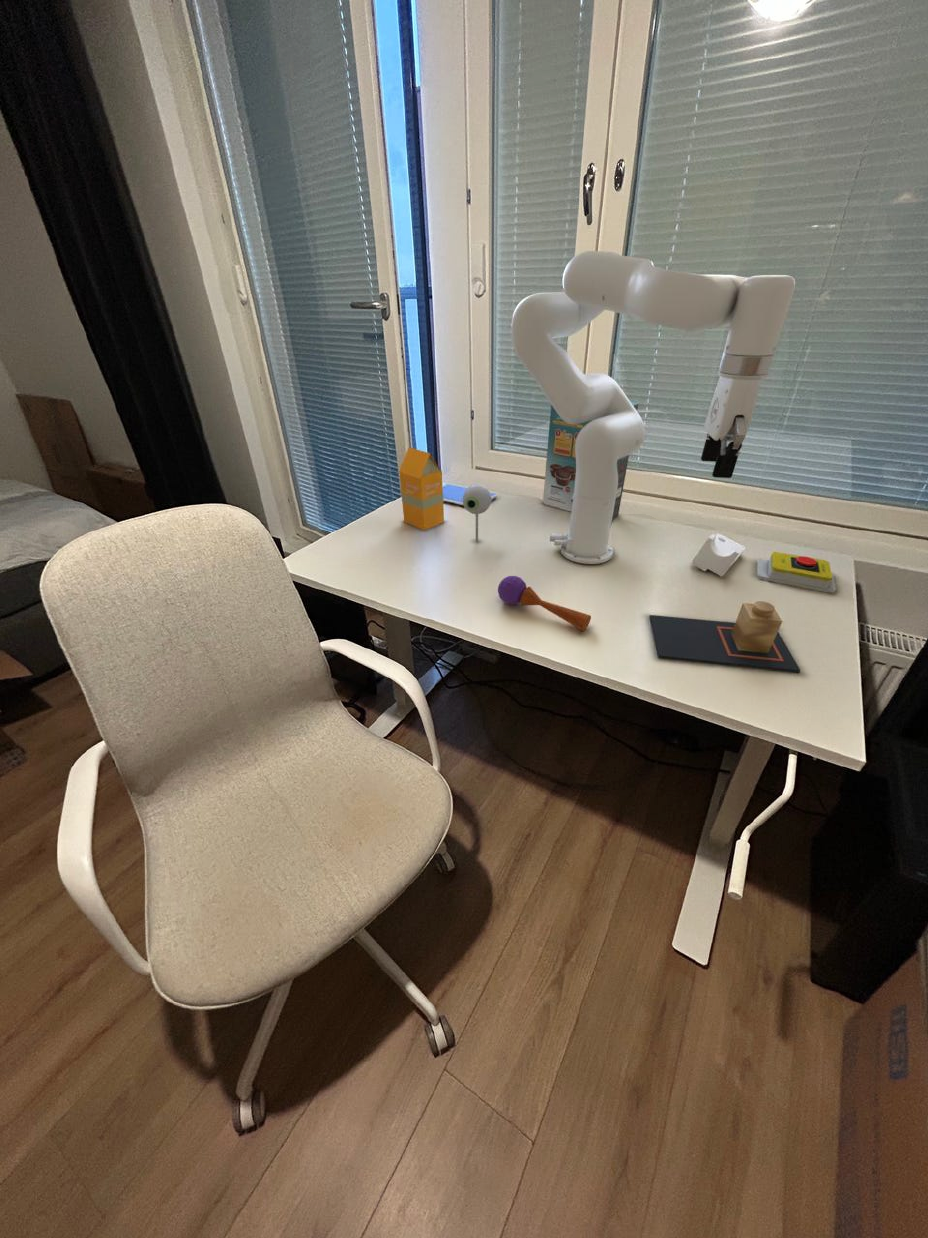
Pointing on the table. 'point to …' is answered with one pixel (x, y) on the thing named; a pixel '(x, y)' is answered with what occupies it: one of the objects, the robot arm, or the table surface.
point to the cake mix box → (569, 464)
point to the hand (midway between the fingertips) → (715, 468)
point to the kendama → (538, 601)
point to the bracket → (718, 554)
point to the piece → (756, 627)
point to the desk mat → (714, 645)
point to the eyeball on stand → (476, 501)
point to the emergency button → (797, 571)
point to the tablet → (456, 494)
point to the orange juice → (421, 490)
